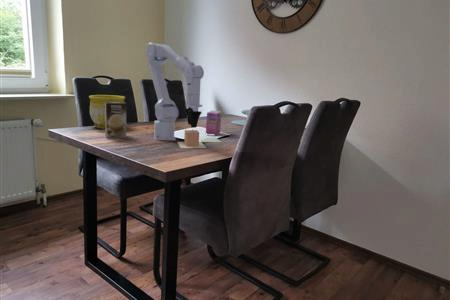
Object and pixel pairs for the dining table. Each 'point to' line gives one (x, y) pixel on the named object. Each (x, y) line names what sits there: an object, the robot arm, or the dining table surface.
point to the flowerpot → (101, 107)
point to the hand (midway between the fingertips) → (192, 125)
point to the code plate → (191, 146)
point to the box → (213, 122)
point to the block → (191, 138)
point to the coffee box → (115, 119)
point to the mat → (210, 140)
